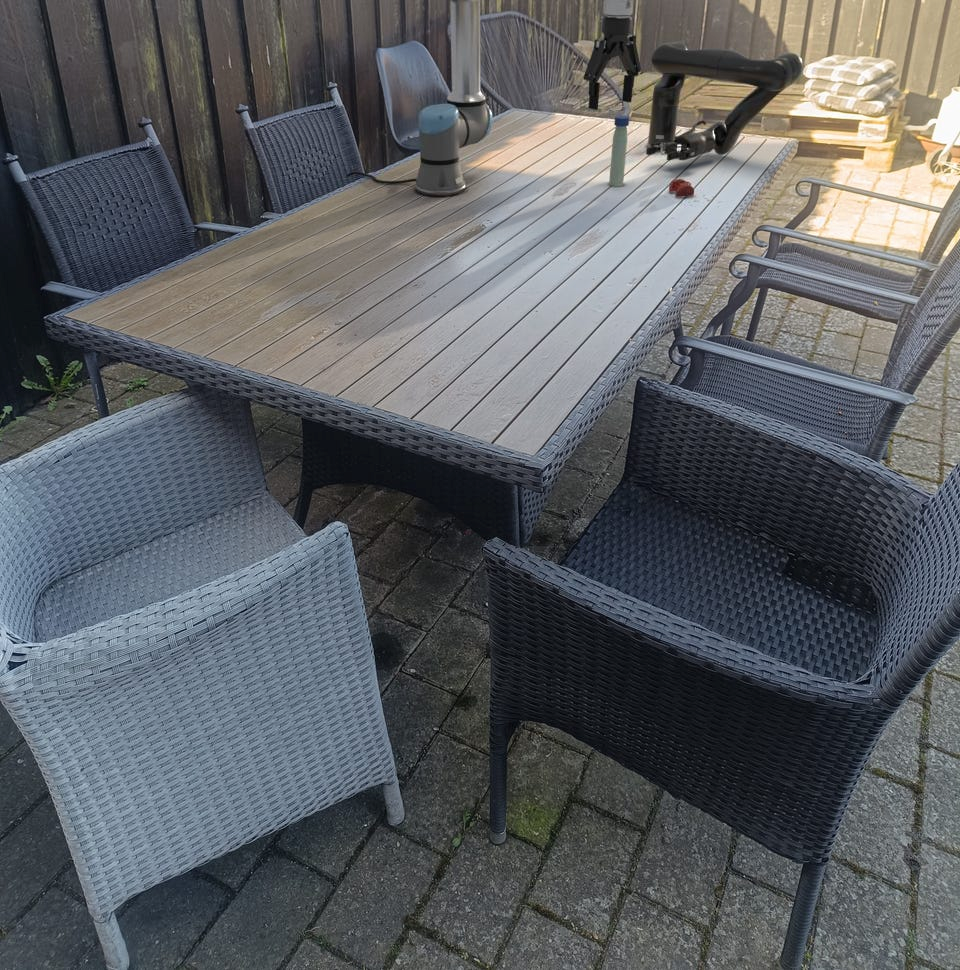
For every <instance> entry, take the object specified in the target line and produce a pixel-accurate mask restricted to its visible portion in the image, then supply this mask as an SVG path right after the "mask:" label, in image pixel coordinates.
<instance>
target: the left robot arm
mask: <svg viewBox="0 0 960 970" xmlns="http://www.w3.org/2000/svg"><path fill="white" fill-rule="evenodd" d="M602 7H603V8H602V14H603V15H604V16H603V18H602V21H601V22H602V23H601V33H602V34H603V39H599V38H596V39H594V42H593V49H592V52H591V55H590V57H589V61H588V63H587V66H586V70H585V71H584V75H583V80H584V81H585V82H588V109H589V110H595V111H597V110H599V100H600V87H601V82H599V80H600V78H601V76H602V74H603V72H604V70H605V69H606V67H607V65H608V63H610V61H611V60H612V59H613V58H616V57H619V60H620V62H621V65H622V66H623V68H624V71H625V72H626V74H624V76H623V86H622V97H621V101H622V102H625V103H632V99H633V89H634V87H635V77H638V76H639V73H640V72H641V71H642V67H641V63H640V57H639V53H638V52H639V51H638V47H637V35H635V34H631V33H632V25H633V18H632V17H631V16H633V11H634V0H603V5H602ZM449 11H450V13H449V14H450V57H451V59H450V61H451V62H450V63H451V65H450V66H451V92H450V93H449V94H448V95H447V97H446V103H437V104H431V105H428V106H426V107H424V108H422V110H420V112H419V114H418V126H417V127H418V136H419V138H418V139H419V157H420V158H419V159H420V161H419V162H420V164H419V168H418V172H417V176H416V178H409V179H404V180H381V179H378V178H377V177H375V176H374V175H372V174H369V173H365V172H362V171H356V170H355V171H354V170H353V171H350V172H349V173H347V174H346V176H345V177H347V178H348V177H351V176H352V175H360V176H363V177H367V178H370V179H372V180H373V181H374V182H375V183H378V184H379V183H380V184H386V185H387V184H388V185H389V184H390V185H393V184H394V185H395V184H407V183H412V182H415V185H414V186H415V192H417V193H418V194H420V195H424V196H430V197H450V196H455V195H459V194H461V193H463V192H464V191H466V181H465V179H464V176H463V172H462V169H461V165H460V149H462V148H465V147H468V146H470V145H475V144H478V143H479V142H481V141H483V140H485V138H487V137H488V136H489V134H490V132H491V131H492V128H493V122H494V120H493V119H494V117H493V112H492V110H491V109H490V106H489V105H488V104H487V103H486V96H485V95H484V94H483V92H482V91H481V0H449Z"/></svg>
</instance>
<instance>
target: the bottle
mask: <svg viewBox="0 0 960 970" xmlns="http://www.w3.org/2000/svg"><path fill="white" fill-rule="evenodd" d="M628 139H629V138H628V127H627V126H625V127H620V126H615V129H614V132H613V135H612V144H611V156H610V167H609V168H610V170H609V180H608V181H609V182H608V185H609V186H610V187H622V186H624V178H625V170H626V169H625V168H626V159H627V148H628Z"/></svg>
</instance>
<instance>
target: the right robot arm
mask: <svg viewBox="0 0 960 970" xmlns="http://www.w3.org/2000/svg"><path fill="white" fill-rule="evenodd" d="M650 57H651V59H650V61H651V65H652V67H653V69H654V70H655V71H656V72H657V73H658V74H662V75H661V77H660V79H659V80H658V81H657V82H656V83H655V84H654V86H653V93H652V103H651V111H650V118H649V119H650V120H649V128H648V129H649V131H648V137H647V138H648V139H647V143H646V146H647V148H646V152H645V153H646V155H647V156H651V155H656V154H659V155H660V156H666V160H667V161H673V160H679V161H686V160H690V159H693V158H696V157H699V156H700V155H705V154H708V153H710V152H712V151H714V153H716V154H717V155H720V156H723V155H726V154H728V153H730V152H731V151H732V150H733V148H734V147H735V145H736V144H737V141H738V139H739V137H740V136H741V134H742V132H743V131H744V129H745V128H746V127H747V126H748V125H750V123H751V122H752V121H753V120H754V119H755V118H756V117H757V116H758V114H760V113H761V111H762V110H763V109H764V108H765V107H766V106H767V105H768V104H770V102H771V101H773V100H774V98H776V97H777V96H778V95H779V94H780V93H782V92H783V91H784V90H786V89H787V88H789V87H790V86H792V85H794V84H795V83H796V82H797V81H798V80H799V79H800V77H801V76H802V72H803V68H804V67H803V61H802V58H801V57H800V56H799V55H797V54H796V53H794V52H785V53H783V54H781V55H779V56H777V57H775V58H772V59H752V58H748V57H746V56H745V55H744V54H742V52H739V51H737V50H733V49H726V48H700V49H688V48H687V46H686V45H685V44H684V43H683V42H681V41H672V42H666V43H663V44H660V45H659V46H657V47H656V48H655V49H654V50H653V52H652V54H651V56H650ZM686 75H687V76H691V77H695V78H699V79H704V80H708V81H709V80H710V81H715V82H721V83H731V84H740V85H749V86H752V87H756V88H754V90H752V91H751V92H750V93H749V94H747V95H746V96H745V97H744V98H742V100H741V101H739V102H738V103H737V104H736V105H735V106H734V107H733V108H732V109H731V111H730V112H729V113H728V114H727V115H726V116H725V119H724V122H723V121H716V122H714V123H712V124H711V125H710V126H709V127H708V128H706V129H705V130H703V131H698V132H694V131H695V130H696V128H697V126H700V125H701V124H703V126H706V125H707V122H706V121H705V120H700V121H698V122H696V123H695V124H693V125H692V128H690V129H689V130H688V131H685V132H683V133H682V134H680V135H676V132H677V124H678V117H679V116H678V115H679V108H680V101H681V92H682V89H683V88H684V86H685V82H686V81H685V80H686Z"/></svg>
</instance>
